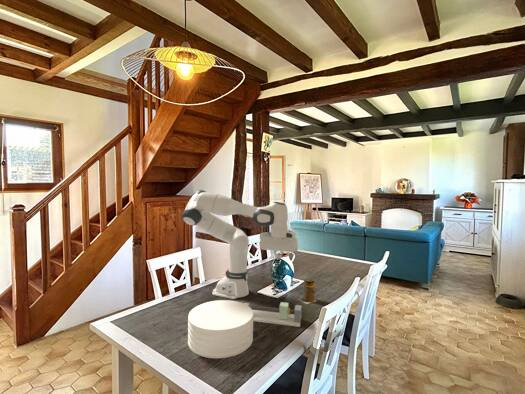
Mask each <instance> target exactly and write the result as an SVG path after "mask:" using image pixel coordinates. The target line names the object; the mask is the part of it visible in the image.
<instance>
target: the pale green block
mask: <svg viewBox="0 0 525 394" xmlns="http://www.w3.org/2000/svg"><path fill="white" fill-rule="evenodd" d="M278 308H279V319H287V318H288V308H290V306H289V302H284V301H283V302H282V301H280V304H279V307H278Z"/></svg>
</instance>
